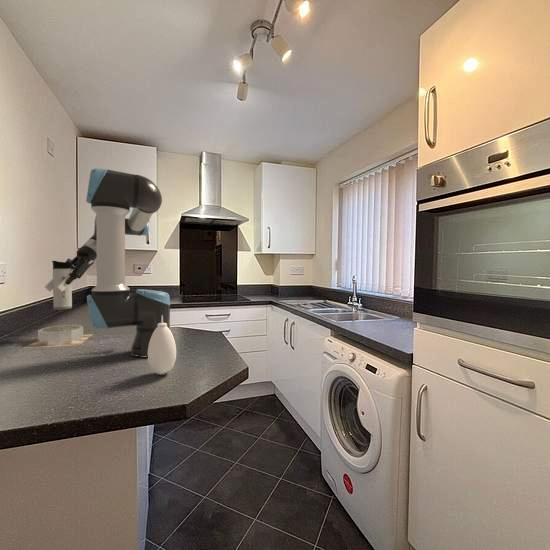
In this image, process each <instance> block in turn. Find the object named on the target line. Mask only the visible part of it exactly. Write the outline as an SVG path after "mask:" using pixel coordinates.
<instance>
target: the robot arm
mask: <svg viewBox="0 0 550 550" xmlns="http://www.w3.org/2000/svg"><path fill="white" fill-rule="evenodd" d="M87 186H88V187H87V193H86V198H85V199H86V201H85V202H86V203H87V204H90V205H91V207H90V208H91V210H92V211H93V212H94V213H95V217H94V218H95V219H94V229H93V230H94V231H93V234H92V236H91V237H90V238H88V239H87V240H86V242H85V243H83V245H82V246H81V247H79V248H78V250H77V251H76V256H74V257H73V259H71V258H67V259H66V261H65V262H67V263H71V273H70V274H69V275H70V276H67V277H66V278H65V279H64V280H63V281H62V282H61V283H60V284H59V285H58V286H57V288H58V289H59V290H60V291H61V292H63V291H64V290H65V289H66V288H67V287H68V285H69V284H70V283H71V282H74V281H76V280H77V279H78V280H80V279H81V278H82V276H83V275H84V274H85V273H86V272H87V270H88V269H90V267H91V266H92V265H93V264H95V263H94V261H95V260H96V285H95V286H94V287H93V288H92V289H91V294H88V295H87V296H86V301H87V308H88V313H89V319H90V326H91V327H92V328H93V329H96V330H98V329H99V330H100V329H102V330H103V329H107V330H108V329H113V328H114V329H115V328H126V327H136V328H135V329H136V330H135V331H136V332H135V335H134V338H133V341H132V343H131V347H130V355H131V354H133V355H138V356H148V346H149V342H150V339H151V336H152V334H153V332H154V330H155V329H156V328H157V327H158V326H157V325H158V324H159V323H161V318H162V315H163V323H166V324H167V327H168V328H169V329H170V330H171V328H170V327H171V326H170V324H171V315H170V314H171V313H170V312H171V300H170V299H171V298H170V295H169V293H168V292H166V291H161V290H155V289H154V290H153V289H139V288H138V289H136V291H135V293H131V290H130V289H131V288H130V287H129V286H127V284H126V235H128V236H130V235H131V236H139V237H140V236H144V237H145V236H147V235H148V234H149V227H150V226H149V221H150V219H151V217H152V216H153V214H154V213H156V212H158V210H160V208H161V206H162V202H163V198H162V193H161V191H160V189H159V187H158V186H157V185H156V183H154V182H153V181H152V180H151V179H149V178H147V177H145V176H143V175H140V174H133V173H128V172H123V171H116V170H111V169H107V168H106V169H103V168H92V170H90V173H89V179H88V185H87ZM131 209H132V210H131ZM129 213H130V215H129V216H128V214H129ZM126 216H128V218H126ZM44 288H45V289H46V290H47V291H48V292H51V291H53V278H51V279H50V280H49V282H47V283H46V284H45V286H44Z"/></svg>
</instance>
